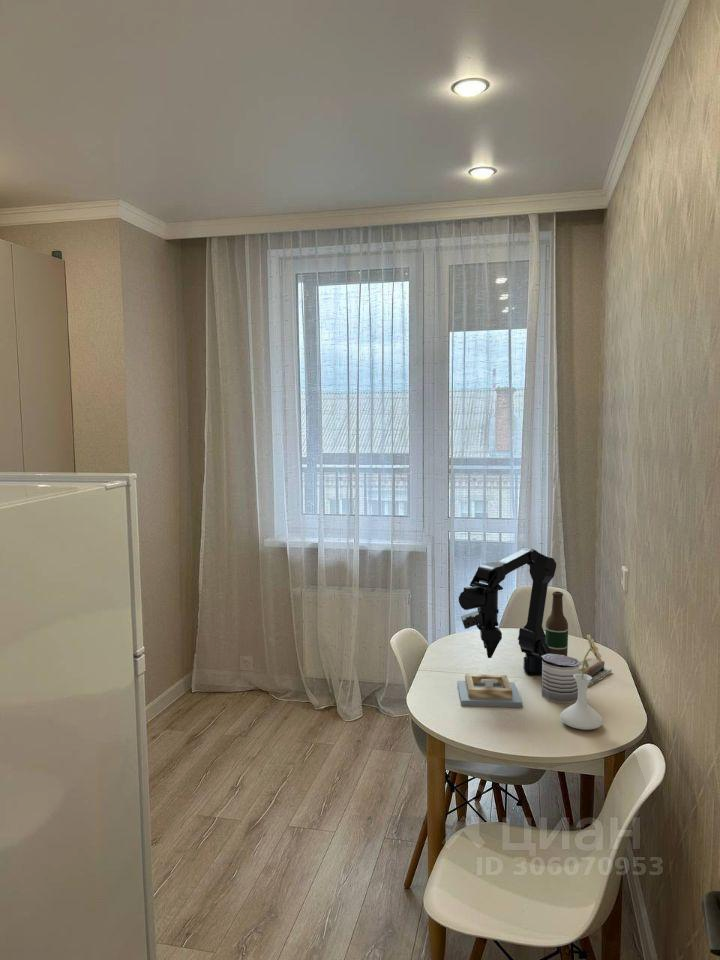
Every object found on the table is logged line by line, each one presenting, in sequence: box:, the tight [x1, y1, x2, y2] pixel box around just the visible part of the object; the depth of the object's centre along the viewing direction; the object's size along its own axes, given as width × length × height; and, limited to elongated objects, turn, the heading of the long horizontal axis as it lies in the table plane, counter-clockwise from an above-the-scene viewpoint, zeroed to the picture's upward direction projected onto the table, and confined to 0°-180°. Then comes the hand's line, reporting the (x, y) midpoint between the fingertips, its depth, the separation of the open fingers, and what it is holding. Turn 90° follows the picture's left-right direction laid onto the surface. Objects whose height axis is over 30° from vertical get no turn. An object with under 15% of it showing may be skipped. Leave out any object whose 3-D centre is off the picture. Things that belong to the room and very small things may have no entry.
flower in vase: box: [559, 634, 604, 731], centre depth 194 cm, size 13×11×25 cm
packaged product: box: [579, 657, 613, 687], centre depth 232 cm, size 18×5×10 cm
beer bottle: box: [544, 590, 569, 656], centre depth 248 cm, size 8×8×24 cm
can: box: [541, 654, 581, 704], centre depth 214 cm, size 11×11×12 cm
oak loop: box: [464, 673, 512, 699], centre depth 215 cm, size 13×13×2 cm
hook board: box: [456, 679, 523, 708], centre depth 214 cm, size 18×16×6 cm
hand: (487, 653), depth 221 cm, fingers open, 9 cm apart
